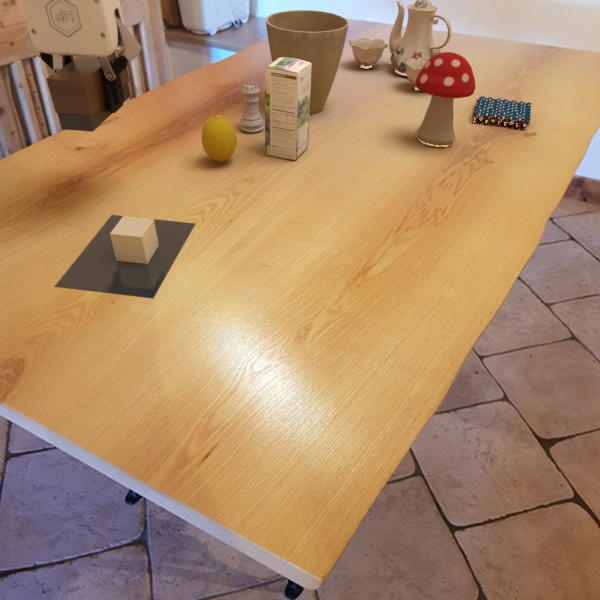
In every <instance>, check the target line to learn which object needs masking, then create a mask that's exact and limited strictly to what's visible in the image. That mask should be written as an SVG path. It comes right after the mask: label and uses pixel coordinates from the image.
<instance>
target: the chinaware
mask: <svg viewBox="0 0 600 600" xmlns="http://www.w3.org/2000/svg"><path fill="white" fill-rule="evenodd" d="M396 4H397V7H398V12H397V15H396V18H395V21H394V23H393V26H392V28H391V31H390V34H389V39H388V43H385V41H384V40H383V39H381V38H375V39H370V38H368V37H364V36H363V37H359V38H357V39H356V40H353V39H351V40H349V41H348V43H349V45H350V47H351V50H352V51H351V52H352V55H353V58H354V60H355V61H356V62H357V63H358V64H359V65H364V66H370V65H373V66H374V65H375V64H376V63H378V62H379V61H380V60H381V58H382V56H383V53H384V50H385V49H387V48H388V49H389V52H390V54H391V55H390V62H391V64H392V65H393V67H394V70H395V69H396V70H397V71H399V72H401V73H406V74H407V76H408V78H407V79H408V81H409V82H410V84H412V85H413V87H416V85H415V84H416V79H417V76H418V74H419V73H420V71H421V70H422V68H423V67H424V65H425V63H426V62H427V61H428V60H429V59H430V58H431V57H433V56H434V55H436V54H439V53H442V49H443V48H445V47H446V46H447V45H448V44H449V42H450V41H451V38H452V33H453V30H452V25H451V22H450V21H449V19H448V18H447V17H445V16H444V15H440V14H436V13H437V10H438V9H439V8H438V7H437V6H436V5H433V4H432V1H430V0H415V2H414V3H413V4H408V5H407V6H406V7H407V22H406V28H405V30H404V32H403V33H404V34H403V36H402V31H403V26H404V21H405V13H406V10H405V9H406V8H405V5H404V4H403V2H402V1H400V0H399V1H396ZM439 20H441V21H443V22H444V23H445V25H446V28H447V36H446V39H445V41H444V42H443V44H441V45H438V46H435V42H434V41H435V40H434V36H433V35H434V34H433V27H434V26H433V25H438V24H439Z"/></svg>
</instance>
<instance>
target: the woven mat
mask: <svg viewBox="0 0 600 600" xmlns="http://www.w3.org/2000/svg"><path fill="white" fill-rule="evenodd" d="M476 102H477V103H476ZM476 102H475V103H474V108H473V112H472V114H471V116H472V117H471V118H474V117H475V119H477V120H478V119H479V120H481V121H482V120H484V121H485V120H489V121H490V123H491V122H494V123H495V122H497V121H500V122H502V123H503V122H510V123H512V124H513V123H514V122H515V121H517V122H515V123H518V124H519V125H521V124H523V125H525V126H526V127H527V126H530V120H531V116H532V115H531V112H532V111H531V110H532V102H530V101H529V102H526V101H523V100H522V101H516V100H515V99H513V100H511V99H507V98H500V97H498V98H496V97H495V98H493V97H492V96H484V95H481V96H478V98H477V99H476ZM475 104H476V105H477V106H476V105H475ZM487 108H488V109H487ZM511 108H512V109H511ZM530 108H531V109H530ZM507 109H508V110H507ZM517 110H518V111H517ZM510 114H511V115H510ZM519 115H520V116H519ZM497 117H498V118H497ZM522 117H523V118H522ZM502 119H503V120H502ZM479 120H478V121H479ZM507 120H510V121H507ZM482 122H483V121H482Z"/></svg>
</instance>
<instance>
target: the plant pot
mask: <svg viewBox="0 0 600 600" xmlns="http://www.w3.org/2000/svg"><path fill="white" fill-rule="evenodd" d="M349 23H350V22H349V20H348V19H347V18H345V17H344V16H342V15H339V14H336V13H334V12H333V13H332V12H328V11H322V10H314V9H313V10H312V9H295V10H294V9H293V10H284V11H279V12H274V13H272V14H270V15H268V16H267V17H266V18H265V26H266V32H267V40H268V47H269V53H270V58H271V62H272V63H273V62H274V61H275V60H277V59H278V58H279V57H286V58H295V59H300V60H304V61H307V62H310V63H312V67H311V90H310V113H309V115H314V114H318V113H320V112H321V111H322V110H323V109H324V106H325V104H326V103H327V100H328V98H329V95H330V92H331V90H332V87H333V84H334V83H335V79H336V75H337V73H338V69H339V66H340V63H341V59H342V55H343V51H344V47H345V43H346V39H347V33H348V27H349V25H350V24H349Z"/></svg>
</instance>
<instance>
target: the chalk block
mask: <svg viewBox="0 0 600 600" xmlns="http://www.w3.org/2000/svg"><path fill="white" fill-rule="evenodd" d="M122 216H123V217H122V218H121V220H120V221H119V222H118V224H117V225H116V226H115V227H114V229H113V230H112V231H111V233H110V236H111V240H112V244H113V248H114V252H115V256H116V260H117V261H124V262H133V263H142V264H148V262H149V261H150V259H151V257H152V256H153V254H154V253H155V251H156V249H157V248H158V246H159V244H158V239H157V233H156V228H155V222H154V219H155V218H148V219H147V217H138V216H128V217H127V215H122ZM137 217H138V218H137Z"/></svg>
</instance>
